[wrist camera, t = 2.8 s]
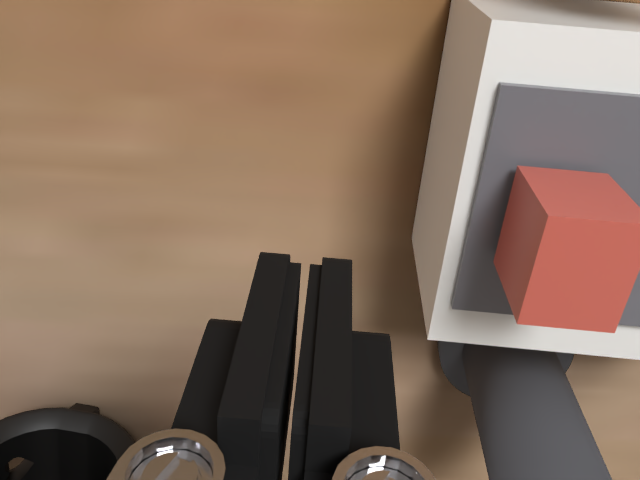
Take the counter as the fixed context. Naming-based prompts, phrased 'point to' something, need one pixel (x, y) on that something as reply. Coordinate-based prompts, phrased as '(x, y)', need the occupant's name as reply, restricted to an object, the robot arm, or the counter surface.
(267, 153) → the counter surface
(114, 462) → the muzzle brake
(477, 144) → the switch box
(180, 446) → the robot arm
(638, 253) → the slider
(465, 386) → the gray post with base
